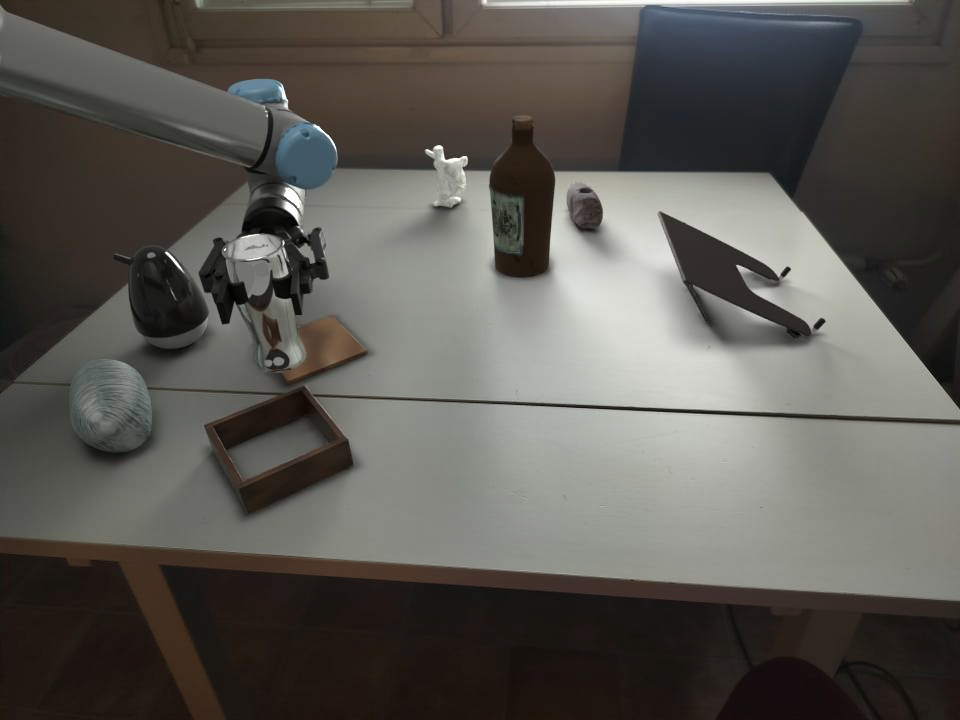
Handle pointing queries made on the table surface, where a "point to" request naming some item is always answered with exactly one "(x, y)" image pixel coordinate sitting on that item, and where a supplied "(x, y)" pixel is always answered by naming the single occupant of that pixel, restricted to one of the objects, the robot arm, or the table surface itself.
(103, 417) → the grey ovoid lump
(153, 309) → the pump dispenser
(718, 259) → the laptop tray
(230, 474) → the frame
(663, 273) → the table surface
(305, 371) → the cork mat
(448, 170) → the white irregular figure
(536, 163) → the olive oil
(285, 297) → the beer glass
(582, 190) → the perforated stone tool
